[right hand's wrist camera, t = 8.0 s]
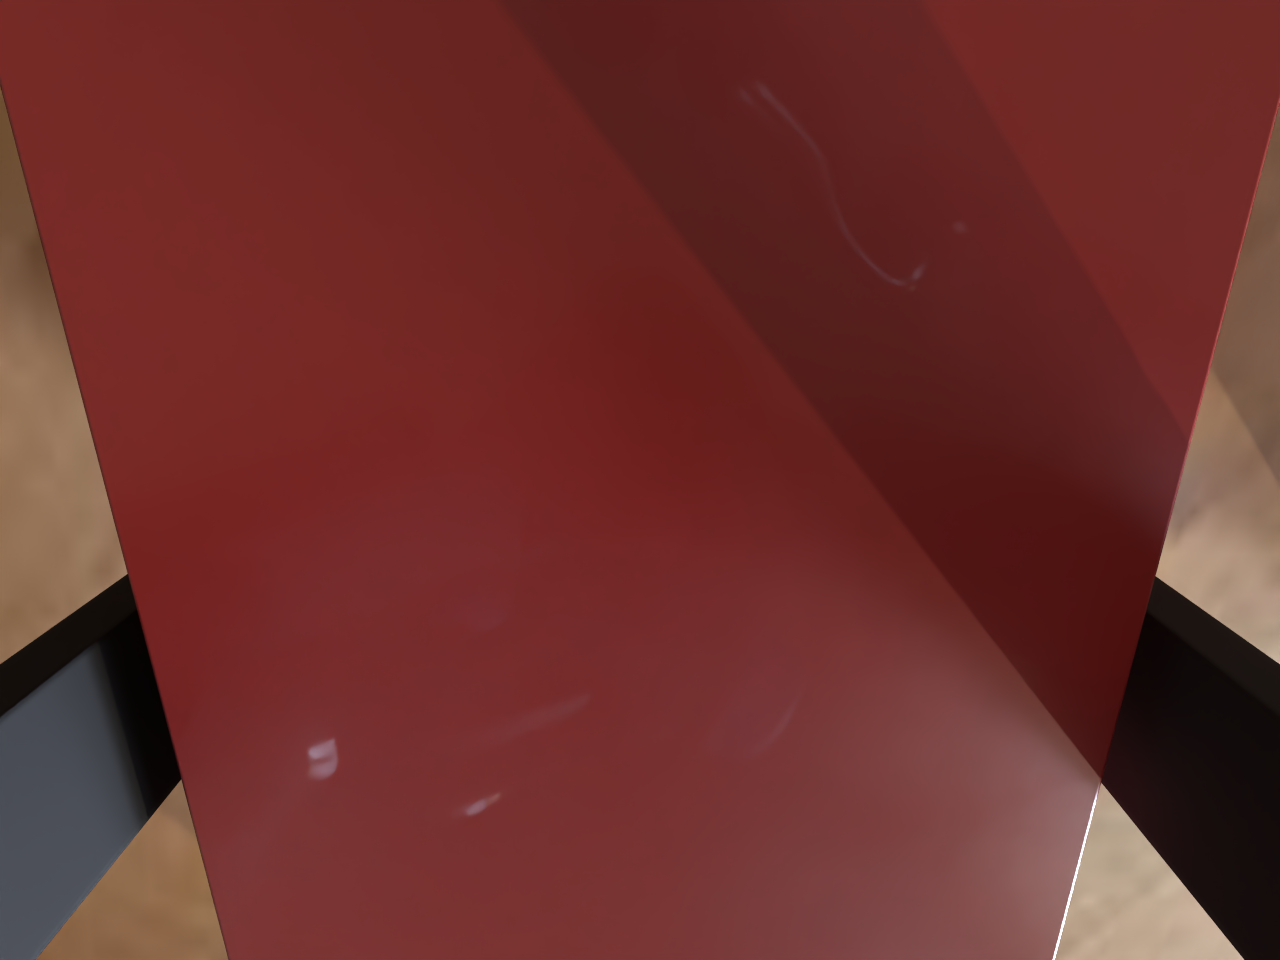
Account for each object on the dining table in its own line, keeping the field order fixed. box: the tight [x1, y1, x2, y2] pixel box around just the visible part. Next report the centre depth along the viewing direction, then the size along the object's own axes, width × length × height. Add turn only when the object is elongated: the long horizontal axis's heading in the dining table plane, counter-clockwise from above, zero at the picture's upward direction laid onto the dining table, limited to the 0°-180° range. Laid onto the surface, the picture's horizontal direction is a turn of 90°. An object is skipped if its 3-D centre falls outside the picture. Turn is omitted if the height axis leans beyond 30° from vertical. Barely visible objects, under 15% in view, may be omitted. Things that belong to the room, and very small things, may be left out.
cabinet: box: [0, 0, 1280, 960], centre depth 13 cm, size 17×11×12 cm, turn 0°
